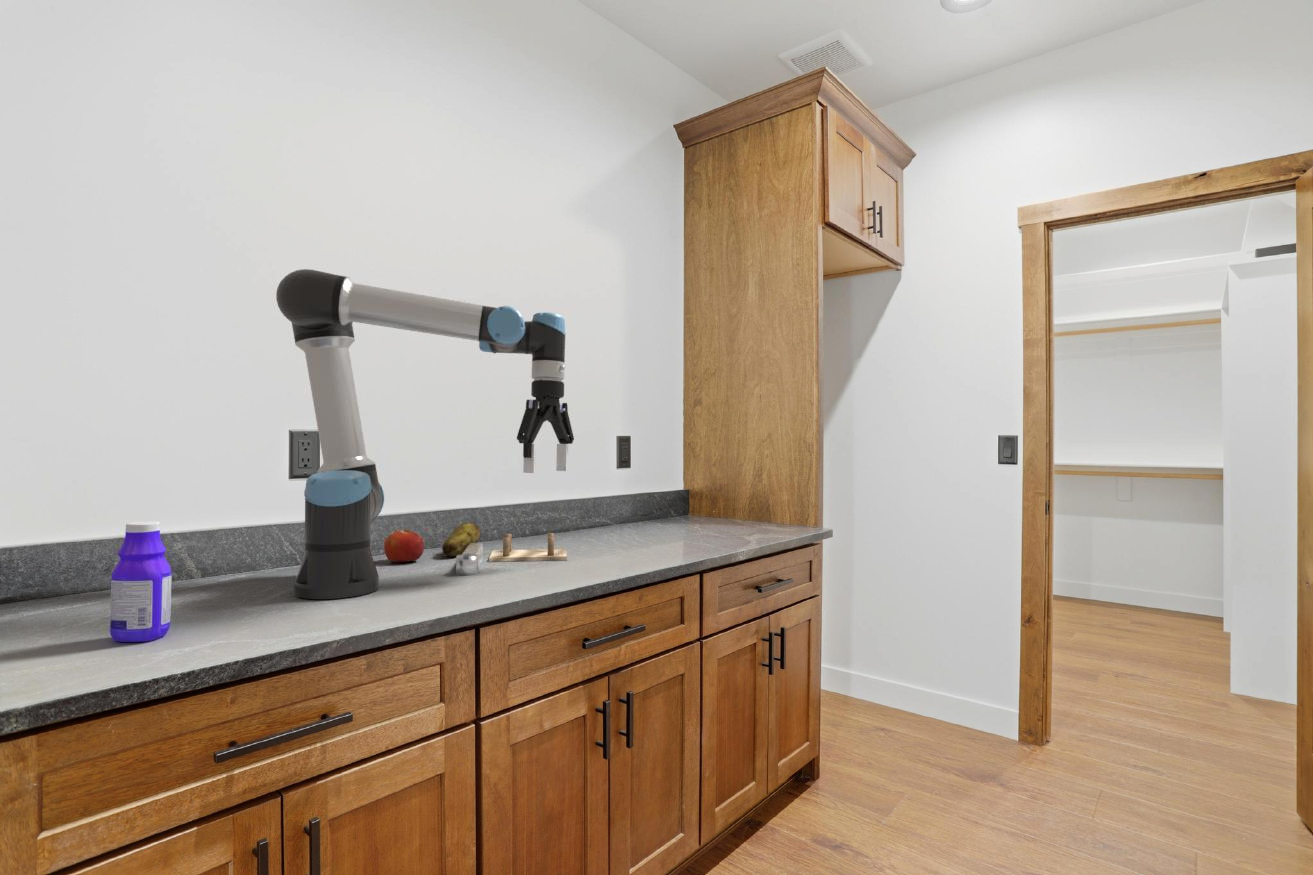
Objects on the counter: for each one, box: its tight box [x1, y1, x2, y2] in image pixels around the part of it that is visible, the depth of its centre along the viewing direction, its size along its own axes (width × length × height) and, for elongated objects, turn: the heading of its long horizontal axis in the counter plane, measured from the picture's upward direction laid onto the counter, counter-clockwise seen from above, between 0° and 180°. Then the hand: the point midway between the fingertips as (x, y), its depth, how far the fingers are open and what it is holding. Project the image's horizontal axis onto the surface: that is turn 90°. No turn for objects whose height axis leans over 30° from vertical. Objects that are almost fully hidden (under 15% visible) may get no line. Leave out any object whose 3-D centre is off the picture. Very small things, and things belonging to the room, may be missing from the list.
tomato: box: [383, 529, 425, 563], centre depth 163 cm, size 9×9×8 cm
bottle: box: [109, 520, 172, 643], centre depth 99 cm, size 7×6×17 cm
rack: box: [488, 532, 568, 563], centre depth 170 cm, size 19×11×6 cm, turn 99°
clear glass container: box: [455, 542, 484, 577], centre depth 157 cm, size 21×5×4 cm, turn 9°
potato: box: [441, 522, 481, 558], centre depth 173 cm, size 8×13×8 cm, turn 147°
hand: (546, 472), depth 154 cm, fingers open, 13 cm apart
